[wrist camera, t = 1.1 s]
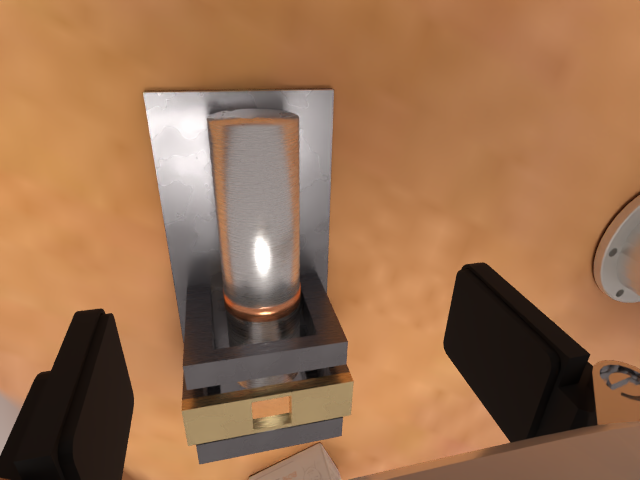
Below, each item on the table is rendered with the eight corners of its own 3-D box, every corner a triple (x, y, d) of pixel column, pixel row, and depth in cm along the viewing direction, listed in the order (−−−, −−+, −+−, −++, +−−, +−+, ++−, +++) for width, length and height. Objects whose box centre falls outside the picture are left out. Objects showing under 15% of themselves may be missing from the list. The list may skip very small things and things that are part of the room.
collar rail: (331, 88, 27) (382, 118, 19) (321, 381, 38) (351, 472, 31) (144, 90, 24) (118, 126, 17) (194, 403, 36) (192, 507, 28)
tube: (200, 110, 25) (213, 130, 21) (285, 106, 26) (313, 124, 22) (225, 351, 33) (238, 400, 29) (289, 336, 35) (310, 381, 30)
